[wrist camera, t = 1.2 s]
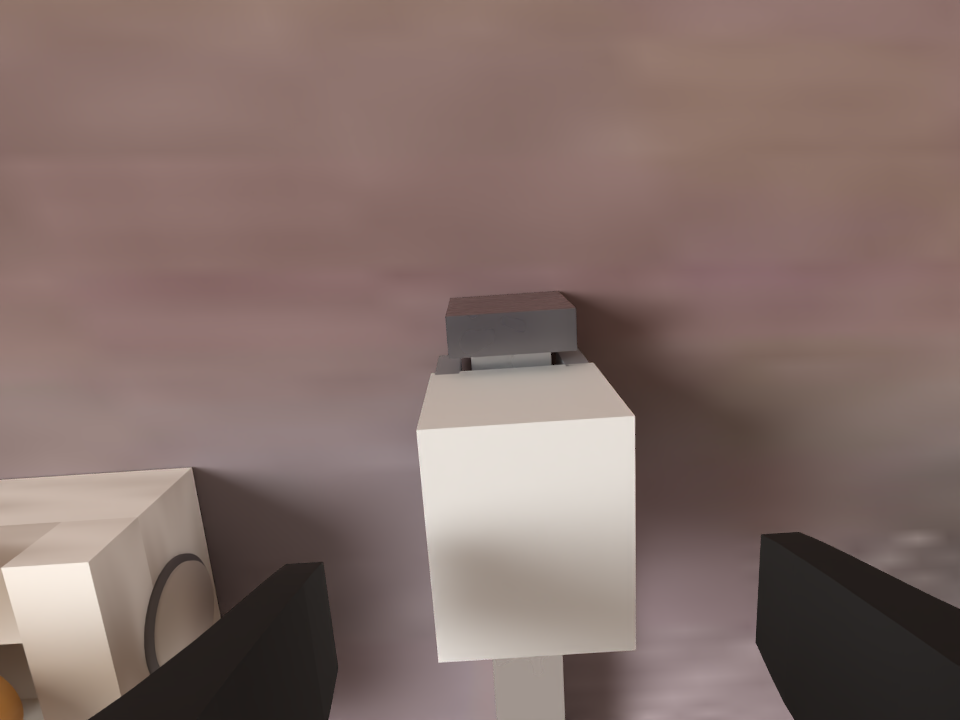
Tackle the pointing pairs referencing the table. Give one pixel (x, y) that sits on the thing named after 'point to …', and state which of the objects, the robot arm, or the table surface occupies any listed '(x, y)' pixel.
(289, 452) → the table surface
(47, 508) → the cream cage with ball
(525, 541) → the block
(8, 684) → the plunger
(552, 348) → the rail
